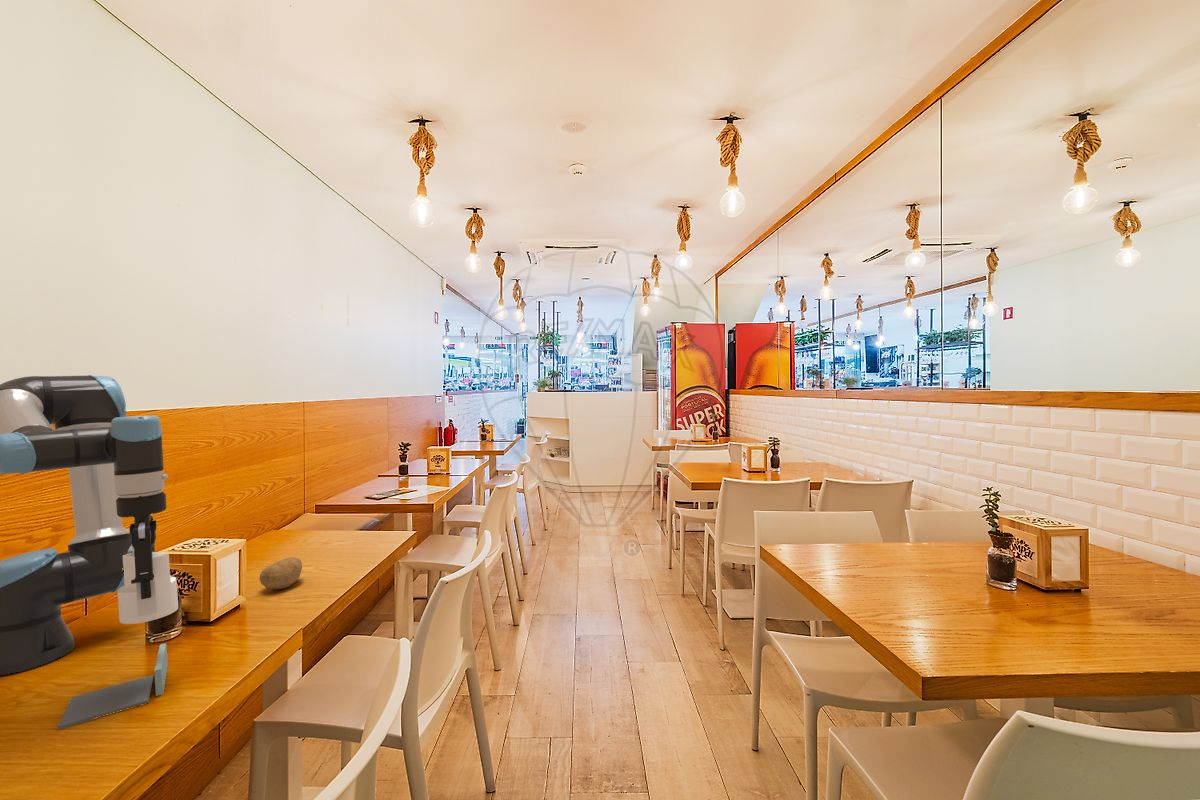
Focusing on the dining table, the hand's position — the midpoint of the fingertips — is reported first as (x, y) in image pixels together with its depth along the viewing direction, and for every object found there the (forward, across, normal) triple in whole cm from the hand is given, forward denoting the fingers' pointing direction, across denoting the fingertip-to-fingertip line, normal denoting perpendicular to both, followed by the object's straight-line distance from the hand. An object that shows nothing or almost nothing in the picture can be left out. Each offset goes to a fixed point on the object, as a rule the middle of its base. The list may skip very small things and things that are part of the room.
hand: (148, 606), depth 108 cm
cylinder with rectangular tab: (+2, 0, 0) cm, 2 cm away
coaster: (+15, -3, +6) cm, 17 cm away
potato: (+16, +46, -28) cm, 56 cm away
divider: (+15, 0, -1) cm, 15 cm away
